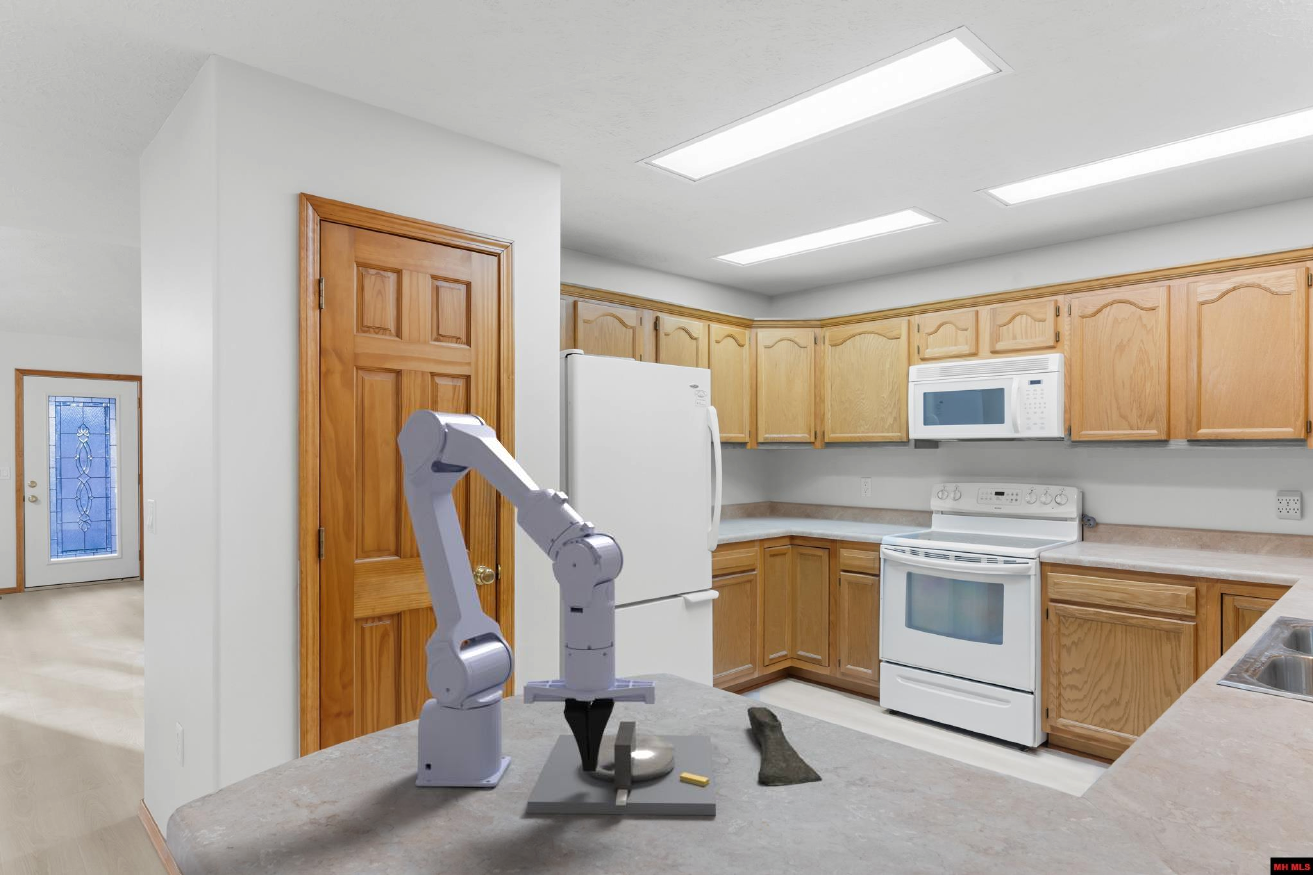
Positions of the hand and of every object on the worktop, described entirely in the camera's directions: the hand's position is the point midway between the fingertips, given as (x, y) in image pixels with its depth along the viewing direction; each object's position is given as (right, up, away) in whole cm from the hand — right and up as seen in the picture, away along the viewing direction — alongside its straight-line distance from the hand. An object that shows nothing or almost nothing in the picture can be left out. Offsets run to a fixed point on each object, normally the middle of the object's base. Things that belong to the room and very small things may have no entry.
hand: (590, 767), depth 83 cm
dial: (+4, -2, +5) cm, 7 cm away
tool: (+23, -4, +13) cm, 27 cm away
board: (+4, -4, +6) cm, 8 cm away
